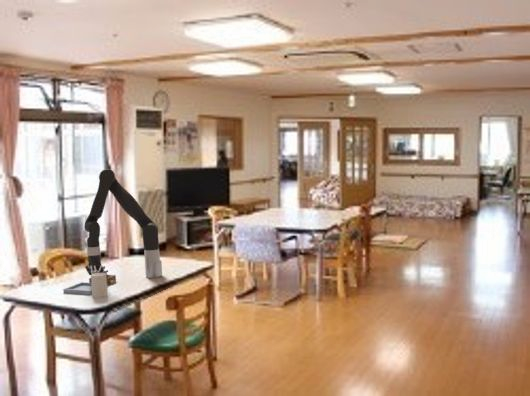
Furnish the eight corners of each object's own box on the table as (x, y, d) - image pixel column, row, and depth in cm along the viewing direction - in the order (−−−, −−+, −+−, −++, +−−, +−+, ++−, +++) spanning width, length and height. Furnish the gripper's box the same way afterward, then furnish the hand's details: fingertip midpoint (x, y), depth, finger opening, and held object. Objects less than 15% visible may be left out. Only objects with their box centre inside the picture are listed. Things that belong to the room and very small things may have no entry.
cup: (99, 298, 320) (97, 276, 319) (89, 296, 325) (87, 275, 324) (110, 294, 327) (109, 273, 326) (100, 293, 332) (98, 272, 330)
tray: (107, 287, 344) (107, 283, 344) (90, 294, 329) (90, 290, 329) (81, 285, 350) (81, 282, 350) (63, 292, 336) (63, 289, 335)
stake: (109, 282, 356) (108, 270, 355) (104, 284, 351) (103, 272, 350) (106, 282, 356) (105, 270, 356) (101, 284, 352) (100, 272, 351)
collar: (118, 281, 357) (118, 275, 357) (107, 286, 347) (107, 279, 346) (100, 280, 362) (100, 274, 361) (89, 285, 351) (89, 278, 351)
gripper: (107, 252, 355) (109, 281, 357) (88, 252, 360) (90, 280, 362) (99, 255, 348) (101, 284, 350) (80, 254, 353) (82, 283, 355)
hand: (96, 281), depth 356 cm, fingers closed on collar, 1 cm apart
